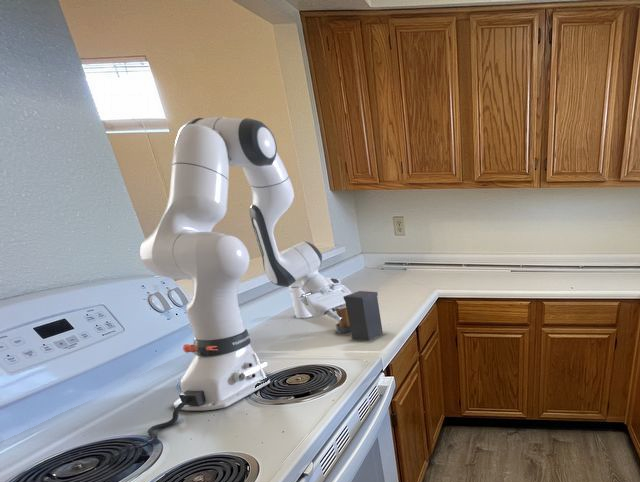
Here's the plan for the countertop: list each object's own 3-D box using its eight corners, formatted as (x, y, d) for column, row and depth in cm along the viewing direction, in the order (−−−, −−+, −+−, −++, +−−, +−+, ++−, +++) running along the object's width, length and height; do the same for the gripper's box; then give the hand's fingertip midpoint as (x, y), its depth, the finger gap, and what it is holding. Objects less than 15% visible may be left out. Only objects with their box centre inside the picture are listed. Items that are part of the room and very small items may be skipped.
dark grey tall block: (369, 342, 140) (361, 297, 134) (351, 340, 143) (343, 296, 136) (383, 334, 147) (377, 291, 141) (366, 332, 150) (359, 290, 144)
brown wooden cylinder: (351, 332, 148) (346, 308, 145) (337, 333, 149) (332, 308, 145) (357, 328, 153) (352, 304, 150) (343, 328, 154) (338, 304, 150)
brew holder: (353, 335, 148) (351, 327, 146) (333, 335, 148) (332, 327, 147) (361, 328, 154) (359, 321, 153) (342, 328, 155) (340, 321, 154)
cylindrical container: (307, 318, 170) (293, 255, 160) (292, 317, 171) (277, 255, 161) (318, 313, 176) (305, 252, 166) (303, 313, 178) (289, 252, 168)
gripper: (300, 289, 138) (330, 320, 138) (341, 277, 155) (367, 305, 156) (293, 302, 141) (322, 332, 142) (334, 289, 158) (359, 315, 159)
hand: (346, 317), depth 149 cm, fingers closed on brown wooden cylinder, 5 cm apart
